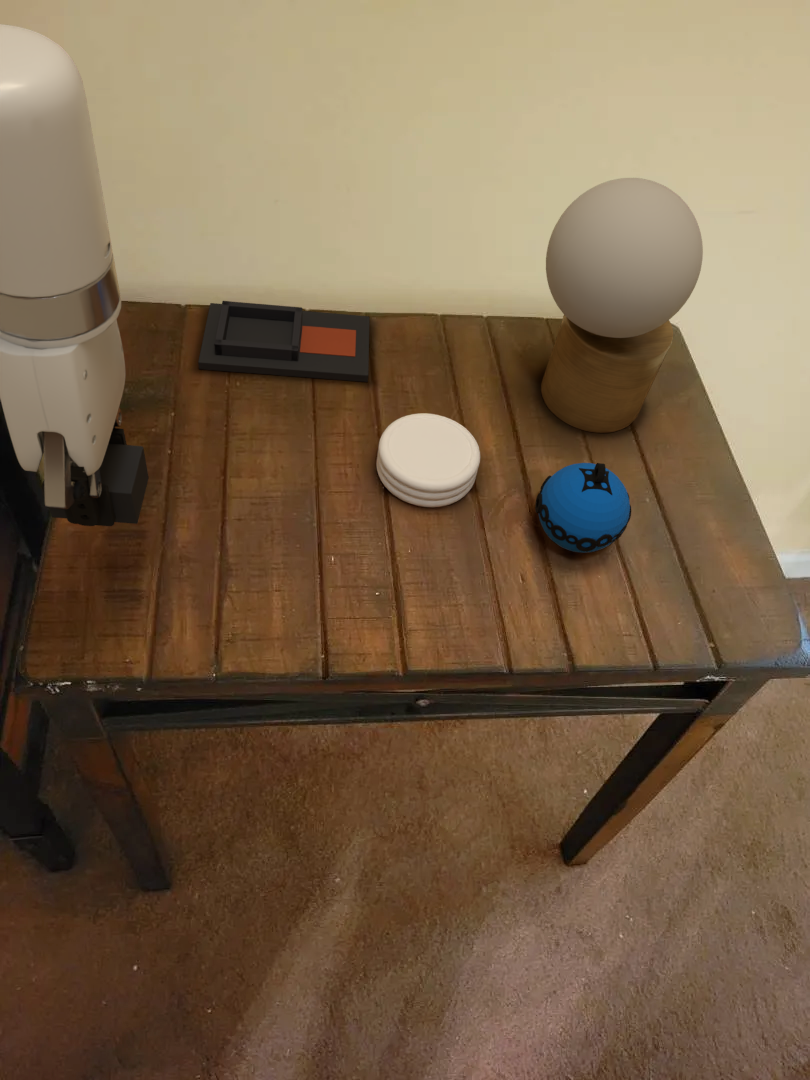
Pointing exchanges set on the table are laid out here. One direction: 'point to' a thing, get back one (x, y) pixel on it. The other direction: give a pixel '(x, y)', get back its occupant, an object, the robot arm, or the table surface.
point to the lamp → (616, 298)
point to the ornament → (583, 507)
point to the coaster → (427, 460)
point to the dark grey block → (119, 481)
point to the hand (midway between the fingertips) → (100, 491)
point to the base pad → (285, 342)
